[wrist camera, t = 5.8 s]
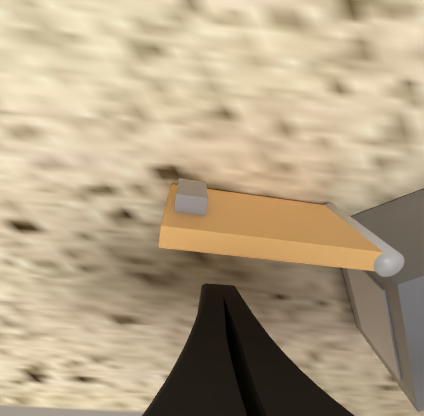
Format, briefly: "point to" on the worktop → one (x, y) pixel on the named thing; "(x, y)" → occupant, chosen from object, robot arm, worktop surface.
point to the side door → (270, 230)
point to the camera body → (395, 294)
